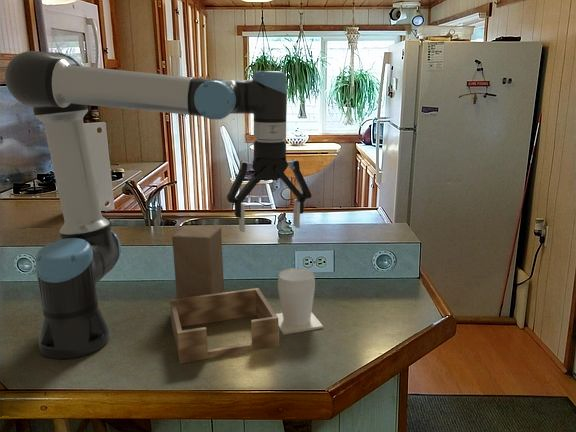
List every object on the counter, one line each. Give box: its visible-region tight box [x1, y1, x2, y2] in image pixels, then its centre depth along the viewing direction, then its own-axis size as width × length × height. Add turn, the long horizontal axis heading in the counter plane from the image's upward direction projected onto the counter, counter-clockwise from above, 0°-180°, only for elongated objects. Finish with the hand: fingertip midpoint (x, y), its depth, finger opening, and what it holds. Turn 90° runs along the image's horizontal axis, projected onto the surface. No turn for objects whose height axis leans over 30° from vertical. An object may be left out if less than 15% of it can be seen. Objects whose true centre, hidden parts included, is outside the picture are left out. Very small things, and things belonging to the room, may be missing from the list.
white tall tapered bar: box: [84, 121, 116, 212], centre depth 235 cm, size 20×14×40 cm
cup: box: [277, 267, 316, 326], centre depth 127 cm, size 9×9×12 cm
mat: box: [275, 311, 324, 335], centre depth 129 cm, size 10×10×1 cm
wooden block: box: [171, 225, 225, 299], centre depth 139 cm, size 10×10×20 cm
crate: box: [169, 287, 280, 364], centre depth 122 cm, size 22×18×7 cm
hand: (269, 228), depth 126 cm, fingers open, 13 cm apart
